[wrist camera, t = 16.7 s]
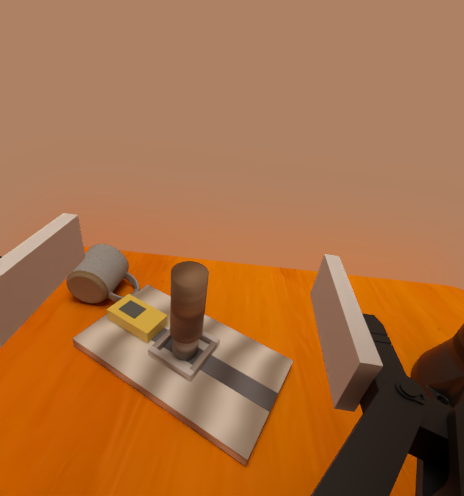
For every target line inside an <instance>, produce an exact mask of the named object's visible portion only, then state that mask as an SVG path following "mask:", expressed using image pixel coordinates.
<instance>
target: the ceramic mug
mask: <svg viewBox="0 0 464 496" xmlns="http://www.w3.org/2000/svg"><path fill="white" fill-rule="evenodd" d="M128 268H129V265H128V261H127V259H126V258H125V256H124V255H123V254H122V253H121V252H120V251H119V250H117V249H116V248H114V247H112V246H109V245H106V244H97V245H94V246H92V247H91V248H90V249H89V250H88V251H87V252H86V254H85V259H84V260H83V261H82V262H81V263H80V264H79V265H78V266H77V267H76V268H75V269H74V271H73V272H72V273H71V274H70V275H69V276H68V277H67V287H68V289H69V291H70V292H71V293H72V294H73V295H74V296H75V297H76V298H78V299H79V300H81V301H84V302H87V303H100V302H102V301H104V300H105V299H107V298H109V299H111V300H113V301H115V302H118V301H119V300H121V299H122V298H124V297H121V296H118V295H116V294H114V293H112V292H113V291H114V289H115V288H116V287H117V286H118V284H119V283H120V282H121V281H122V279H123V278H125V279H127V280H128V281H129V282H131V284H132V285H133V286H134V288H135V290H134V292H133V293H132V296H133V295H134V294H135V293H137V292H138V291H139V284H138V282H137V280H136V279H135V278H134V277H133V276H132V275H131V274H130V273H128Z"/></svg>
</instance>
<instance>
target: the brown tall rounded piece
mask: <svg viewBox="0 0 464 496" xmlns="http://www.w3.org/2000/svg"><path fill="white" fill-rule="evenodd" d="M208 275H209V272H208V269H207V268H206V267H205V266H204V265H202V264H200V263H197V262H191V261H187V262H181V263H178V264H176V265H175V266H174V267H173V268H172V270H171V303H170V335H171V337H172V338H173V346H172V352H173V355H174V356H175V357H176V358H177V359H179V360H190V359H192V358H194V357H195V356H196V354H197V352H198V342H199V338H200V337H201V335H202V332H203V322H204V313H205V304H206V294H207V285H208Z"/></svg>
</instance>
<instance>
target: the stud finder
mask: <svg viewBox="0 0 464 496" xmlns="http://www.w3.org/2000/svg"><path fill="white" fill-rule="evenodd" d="M107 315H108V319H109V320H111V321H112V322H114V323H116V324H117V325H119V326H121V327H122V328H124V329H125V330H127V331H129V332H130V333H132V334H133V335H135V336H137V337H138V338H140V339H142V340H143V341H145V342H146V343H148V342H149V341H150V340H152V339H153V338H154V337H155V336H156V335H157V334H158V333H159V332H160V331H161V330H162V329H163V328H164V327H165V326H167V325H168V315H166V314H165V313H163V312H161V311H159V310H157V309H156V308H154V307H152V306H150V305H148V304H147V303H145V302H143V301H141V300H139V299H137V298H136V297H134V296H132V295H130V294H128V295H126V296H125V297H124V298H122V299H121V300H119V301H118V302H116V303H115V304H114V305H112V306H111V307H109V308H108V309H107Z"/></svg>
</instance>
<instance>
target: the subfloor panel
mask: <svg viewBox="0 0 464 496" xmlns="http://www.w3.org/2000/svg"><path fill="white" fill-rule="evenodd" d="M133 296H134V297H136V298H137V299H139V300H141V301H143V302H145V303H147V304H148V305H150V306H152V307H154V308H156V309H157V310H159V311H161V312H163V313H165V314H166V315H168V325H167V326H165V327H164V328H163V329H162V330H161V331H160V332H159V333H158V334H157V335H156V336H155V337H154V338H153V339H152V340H150V341H149V342H148V343H146V342H145V341H143V340H142V339H140V338H138V337H137V336H135V335H133V334H132V333H130V332H129V331H127V330H125V329H124V328H122V327H121V326H119V325H117V324H116V323H114V322H112V321H111V320H109V319H108V315H107V314H106V315H105V316H103V317H102V318H101V319H99V320H98V321H96V322H95V323H94V324H92V325H91V326H89V327H88V328H87V329H85V330H84V331H82V332H81V333H80V334H78V335H77V336H75V337H74V338H73V343H74V346H75V347H77V348H78V349H80V350H81V351H83V352H84V353H85V354H87V355H88V356H90V357H91V358H92V359H94V360H95V361H97V362H98V363H100V364H101V365H102V366H104V367H105V368H107V369H108V370H110V371H111V372H112V373H114V374H115V375H117V376H118V377H119V378H121V379H122V380H124V381H125V382H127V383H128V384H129V385H131V386H132V387H134V388H135V389H137V390H138V391H139V392H141V393H142V394H144V395H145V396H146V397H148V398H149V399H151V400H152V401H154V402H155V403H156V404H158V405H159V406H161V407H162V408H164V409H165V410H166V411H168V412H169V413H171V414H172V415H173V416H175V417H176V418H178V419H179V420H181V421H182V422H183V423H185V424H186V425H188V426H189V427H191V428H192V429H193V430H195V431H196V432H198V433H199V434H200V435H202V436H203V437H205V438H206V439H208V440H209V441H210V442H212V443H213V444H215V445H216V446H218V447H219V448H220V449H222V450H223V451H225V452H226V453H228V454H229V455H230V456H232V457H233V458H235V459H236V460H237V461H239V462H240V463H242V464H243V465H245V466H246V464H247V462H248V460H249V457H250V455H251V453H252V451H253V449H254V446H255V444H256V442H257V440H258V438H259V435H260V433H261V431H262V429H263V427H264V424H265V422H266V420H267V418H268V416H269V414H270V411H271V409H272V407H273V405H274V403H275V400H276V398H277V396H278V394H279V392H280V389H281V387H282V385H283V383H284V381H285V378H286V376H287V374H288V372H289V370H290V367H291V365H292V362H293V360H291V359H289V358H287V357H285V356H283V355H281V354H279V353H277V352H275V351H274V350H272V349H270V348H268V347H266V346H264V345H262V344H260V343H258V342H256V341H254V340H253V339H251V338H249V337H247V336H245V335H243V334H241V333H239V332H237V331H235V330H233V329H231V328H230V327H228V326H226V325H224V324H222V323H220V322H218V321H216V320H214V319H212V318H210V317H209V316H207V315H205V314H204V322H203V332H202V335H201V337H200V338H199V342H198V352H197V354H196V356H195V357H194V358H192V359H190V360H179V359H177V358H176V357H175V356H174V355H173V352H172V346H173V338H172V337H171V335H170V303H171V297H170V296H168V295H167V294H165V293H163V292H161V291H159V290H157V289H155V288H153V287H151V286H149V285H147V286H145V287H144V288H142V289H141V290H140V291H138V292H137V293H135V294H134V295H133Z"/></svg>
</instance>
